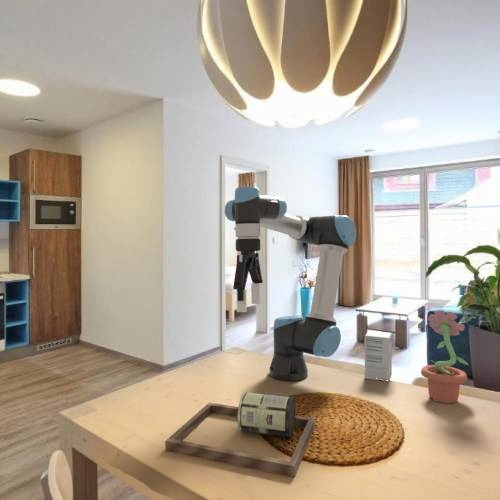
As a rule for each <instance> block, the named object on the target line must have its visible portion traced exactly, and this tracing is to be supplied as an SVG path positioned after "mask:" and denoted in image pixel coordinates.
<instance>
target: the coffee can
mask: <svg viewBox="0 0 500 500" xmlns="http://www.w3.org/2000/svg"><path fill="white" fill-rule="evenodd" d="M237 407H238V417H237V427H238V430H239V431H240V432H248V433H254V434H263V435H270V436H276V437H277V436H278V437H285V438H288V439H289V438H290V439H291V438H292V437H293V435H294V431H295V416H296V414H297V413H296V411H297V410H296V408H297V407H296V399H295V397H294V396H284V395H274V394H265V393H264V394H263V393H256V392H255V393H254V392H249V391H248V392H247V391H244V392H243V393H242V394H241V395H240V398H239V402H238V406H237Z"/></svg>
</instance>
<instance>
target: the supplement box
mask: <svg viewBox="0 0 500 500" xmlns="http://www.w3.org/2000/svg"><path fill="white" fill-rule="evenodd" d="M392 351H393V333H392V332H388V331H387V332H385V331H378V330H377V331H376V330H368V331H367V332H366V334H365V335H364V379H367V380H374V381H379V380H381V379H382V381H381V382H386V380H388V381H387V383H389V382H390V381H391V377H392V375H393V372H392V371H393V370H392V369H393V366H392V365H393V362H392V360H393V352H392ZM376 378H377V379H376Z"/></svg>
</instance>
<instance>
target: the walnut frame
mask: <svg viewBox="0 0 500 500" xmlns="http://www.w3.org/2000/svg"><path fill="white" fill-rule="evenodd" d="M238 407H239V406H235V405H228V404H222V403H221V404H220V403H215V402H208V403H207V404H205V406H204V407H202V408H201V409H200V410H199V411H197V413H196V414H194V415H193V416H192V417H191V418H190V419H189V420H187V421H186V422H185V423H184V424H183V425H182V426H180V427H179V428H178V429H177V430H176V431H175V432H174V433H172V435H170V436H169V437H168V438H167V439H166V440H164V441H165V450H164V451H165V452H169V453H175V454H180V455H184V456H190V457H193V458H198V459H203V460H208V461H212V462H218V463H221V464H222V463H223V464H227V465H233V466H237V467H241V468H246V469H252V470H257V471H262V472H266V473H271V474H275V475H281V476H284V477H285V476H286V477H289V478H296V475H297V472H298V470H299V468H300V465H301V463H302V460H303V458H304V454H305V453H306V450H307V448H308V445H309V442H310V440H311V438H312V436H313V433H314V430H315V427H316V424H315V423H316V418H315V417H307V416H301V415H295V427H296V428H302V429H303V431H302V434H301V436H300V438H299V440H298V442H297V445H296V447H295V449H294V451H293V453H292V455H291V457H290V460H289V461H288V460H285V459H284V460H282V459H278V458H273V457H267V456H263V455H257V454H251V453H247V452H241V451H237V450H231V449H228V448H227V449H225V448H223V447H217V446H210V445H207V444H206V445H205V444H202V443H196V442H195V443H194V442H192V441H191V442H190V441H185V439H186V438H188V437H189V435H190V434H191V433H192V432H193V431H194V430H195V429H197V428H198V427H199V426H200V425H201V424H202V423H203V422H204V421H205V420H206V419H207V418H208V417H209V416H210V415H211V414H214V415H220V416H227V417H231V418H232V417H234V418H238ZM295 427H294V428H295Z"/></svg>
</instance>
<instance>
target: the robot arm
mask: <svg viewBox="0 0 500 500" xmlns="http://www.w3.org/2000/svg"><path fill="white" fill-rule="evenodd" d="M287 208H288V204H287V202H286V200H285V199H284V198H283V197H282V196H281V197H280V196H277V195H266V194H265V195H264V194H261V193H260V189H259V187H258V186H252V185H251V186H250V185H249V186H248V185H244V186H238V187H237V188H235V189H234V199H232V200H229V201H227V202H226V204H225V206H224V214H225V215H224V216H225V217H226V219H227V220H229V222H234V223H235V225H234V226H235V227H234V228H233V230H234V232H235V237H236V240H235V250H236V252H240V254H237V255H236V265H235V272H234V281H233V287H232V288H233V290H236V312H237V313H247V311H248V309H247V306H248V304H247V303H248V302H247V297H248V296H247V289H246V287H247V281H248V277H249V275H250V279H251V282H252V283H251V285H250V286H251V288H250V289H251V291H250V292H251V304H252V305H260V304H261V284H263V283H264V282H263V276H262V270H261V264H260V259H259V256H260V255H259V253H258V252H259V251H260V250H261V239H260V237H261V228H264V229H267V230H270V231H274V232H278V233H281V234H283V235H288V237H289V238H291V239H293V240H295V241H299V242H302V243H306V244H309V245H314V246H317V249H318V250H319V252H320V253H319V259H318V264H317V271H316V276H315V283H314V287H313V294H312V295H313V296H312V300H311V307H310V312H309V313H307V314H306V315H305V317H304V316H303V315H284V316H278V317H277V318H275V319H274V322H273V329H272V330H273V356H272V359H271V362H270V365H269V376H270V377H272V378H273V379H275V380H279V381H285V382H286V381H288V382H295V381H301V380H304V379H306V378H307V377H308V376H309V374H308V372H309V371H308V370H309V369H308V366H307V363H306V359H305V358H304V353H305V354H308V355H312V356H315V357H322V358H330V357H331V356H333V355H334V354H335V353H336V352H337V350H338V349H339V347H340V344H341V339H342V334H341V330H340V328H339V327H338V326H337V320H336V319H335V318H334V313H335V309H336V308H335V307H336V302H337V294H338V288H339V281H340V276H341V270H342V265H343V263H342V262H343V257H344V255H345V254H346V253H348V250H349V246H353V245H354V244H355V242H356V241H357V240H356V239H357V229H356V225H355V223H354V221H353V219H352V217H350V216H348V215H343V214H342V215H340V214H336V215H320V216H301V215H295V216H293V215H291V214H288V213H287V210H288V209H287Z"/></svg>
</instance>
